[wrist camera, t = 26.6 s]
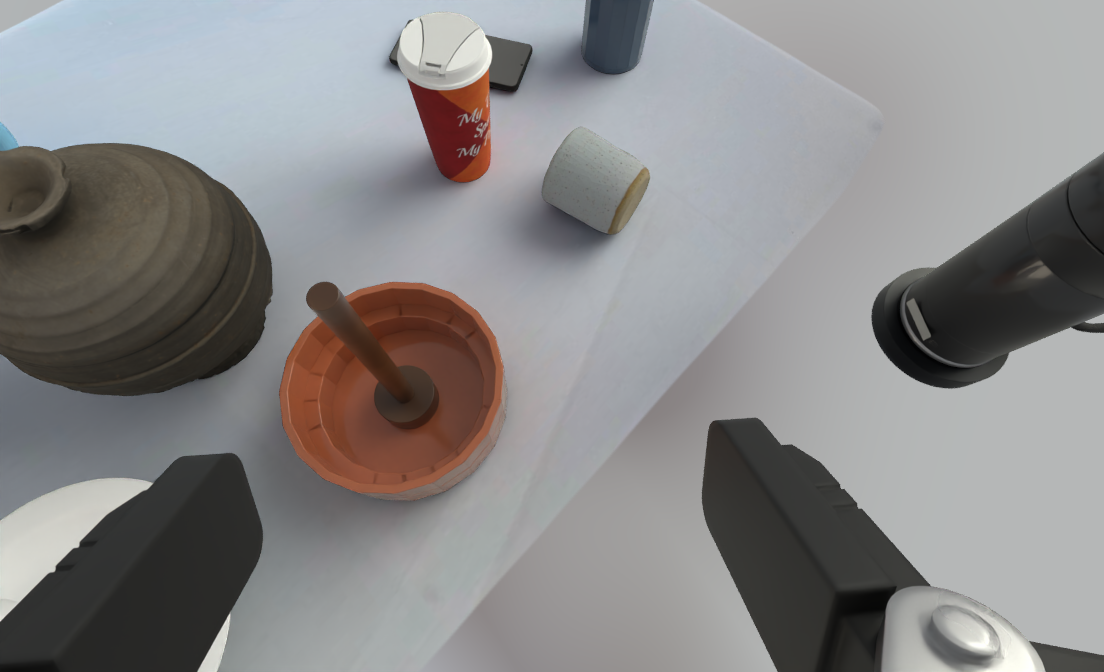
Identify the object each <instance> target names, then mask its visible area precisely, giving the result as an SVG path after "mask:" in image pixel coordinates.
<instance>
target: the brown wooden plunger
mask: <svg viewBox="0 0 1104 672" xmlns="http://www.w3.org/2000/svg"><path fill="white" fill-rule="evenodd" d="M306 301H307V304H308V306H309V307H310V308H311V309H312V310H313V311H314V312H315V313H316V314H317V315H318V317H319V318H320V319H321V320H322V321H323V322H324V323H325V324H326V325H327V326H328V327H329V328H330V329H331V331H332V332H333V333H334V334H335V335H336V336H337V337H338V338H339V339H340V340H341V341H342V342H343V343H344V345H345V346H346V347H347V348H348V349H349V350H350V351H351V352H352V353H353V354H354V355H355V356H356V357H357V359H358V360H359V361H360V362H361V363H362V364H363V365H364V366H365V367H366V368H367V369H368V370H369V371H370V372H371V374H372V375H373V376H374V377H375V378H376V379H377V380H378V383H377V385H376V388H375V392H374V402H375V406H376V408H377V410H378V412H379V413H380V414H381V415H382V416H383V417H384V418H385V419H386V420H387V421H388V422H390V423H391V424H392V425H394V426H396V427H398V428H402V429H414V428H417V427H420V426H422V425H424V424H426V423H427V422H428V421H429V420H430V419H431V418H432V417H433V416H434V414H435V413H436V411H437V408H438V405H439V393H438V390H437V388H436V386H435V384H434V383H433V381H432V379H431V378H430V376H429V375H428V374H427V373H426V372H425V371H424V370H422V369H420V368H418V367H415V366H410V365H404V366H399V367H397V366H396V365H395V363H394V362H393V361H392V359H391V358H390V357H389V355H388V354H387V353H386V351H385V350H384V349H383V347H382V346H381V345H380V343H379V342H378V341H377V339H376V338H375V337H374V335H373V334H372V333H371V331H370V330H369V329H368V328H367V326H366V325H365V324H364V322H363V321H362V320H361V318H360V317H359V316H358V314H357V313H356V312H355V310H354V309H353V308H352V306H351V305H350V304H349V302H348V301H347V300H346V298H345V297H344V296H343V294H342V293H341V292H340V290H339V289H338V288H337V286H335V285H334V284H332V283H330V282H320V283H317V284H315V285H314V286H312V287H311V288H310V289H309V291H308V293H307V296H306Z"/></svg>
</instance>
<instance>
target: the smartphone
mask: <svg viewBox="0 0 1104 672" xmlns="http://www.w3.org/2000/svg"><path fill="white" fill-rule="evenodd" d="M411 21H413V20H409V21H408V23H407V25H408V24H409V23H410V22H411ZM407 25H406V26H407ZM404 29H405V28H404ZM400 37H401V36H400ZM485 37H486V38H487V40H488V41H489V43H490V45H491V49H492V60H491V64H490V66H489V86H490V87H494V88H499V89H503V90H508V91H516V90H517V89H518V87H519V85H520V82H521V80H522V77H523V75H524V72H525V70H526V67H527V64H528V62H529V59H530V57H531V54H532V46H531V45H529V44H524V43H520V42H515V41H510V40H506V39H501V38H497V37H492V36H487V35H485ZM399 42H400V38H399V40H398V41H397V43H396V45H395V47H394V49H393V51H392V52H391V54H390V56H389V59H390V62H391V63H392V64H394V65H398V61H397V52H398V48H399Z"/></svg>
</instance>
